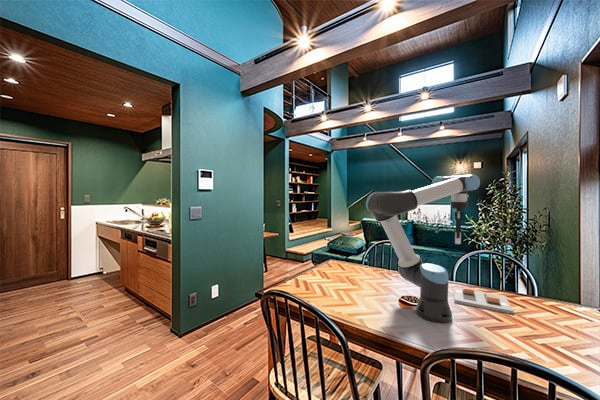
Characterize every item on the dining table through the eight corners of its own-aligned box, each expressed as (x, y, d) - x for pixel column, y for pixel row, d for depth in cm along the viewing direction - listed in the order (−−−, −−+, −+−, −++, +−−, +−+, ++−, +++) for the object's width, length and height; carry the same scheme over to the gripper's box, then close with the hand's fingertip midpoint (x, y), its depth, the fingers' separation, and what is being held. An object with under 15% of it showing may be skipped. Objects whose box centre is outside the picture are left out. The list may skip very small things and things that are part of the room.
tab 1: (474, 294, 134) (474, 290, 134) (463, 292, 136) (463, 288, 136) (473, 292, 136) (473, 288, 136) (463, 290, 139) (463, 286, 139)
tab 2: (499, 303, 123) (499, 298, 123) (487, 301, 125) (487, 296, 125) (498, 301, 125) (498, 296, 125) (486, 299, 128) (486, 294, 128)
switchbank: (513, 314, 116) (513, 310, 116) (454, 302, 128) (454, 299, 128) (505, 298, 133) (505, 295, 133) (453, 289, 145) (453, 286, 145)
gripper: (467, 201, 125) (466, 246, 126) (467, 201, 136) (465, 242, 137) (450, 201, 130) (449, 244, 130) (451, 201, 140) (450, 241, 141)
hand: (457, 243), depth 134 cm, fingers closed
